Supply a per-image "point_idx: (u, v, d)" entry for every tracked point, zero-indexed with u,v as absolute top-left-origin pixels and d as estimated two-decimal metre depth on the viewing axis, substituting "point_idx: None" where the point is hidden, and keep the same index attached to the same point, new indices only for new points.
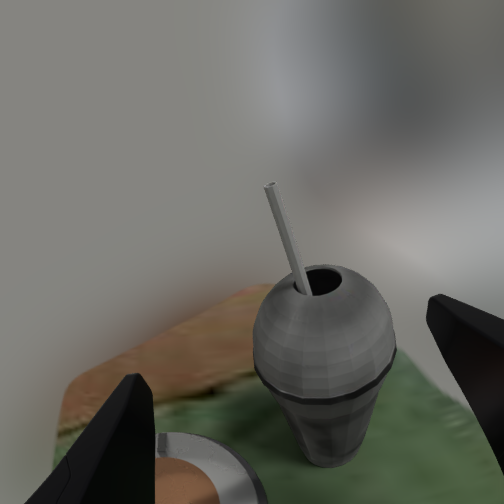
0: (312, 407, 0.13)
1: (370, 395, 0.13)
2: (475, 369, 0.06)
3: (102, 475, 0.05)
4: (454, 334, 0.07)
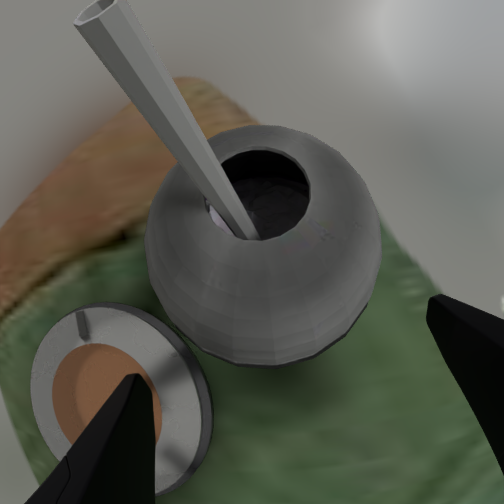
0: None
1: None
2: (475, 369, 0.06)
3: (102, 475, 0.05)
4: (454, 334, 0.07)
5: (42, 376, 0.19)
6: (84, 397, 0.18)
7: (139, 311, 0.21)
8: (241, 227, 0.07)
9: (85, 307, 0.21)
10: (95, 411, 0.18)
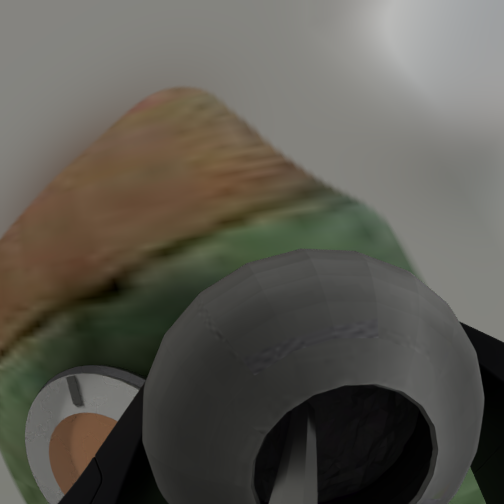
0: None
1: (381, 479, 0.06)
2: None
3: (134, 476, 0.05)
4: None
5: (37, 438, 0.15)
6: (84, 466, 0.14)
7: (138, 379, 0.17)
8: None
9: (77, 369, 0.17)
10: None
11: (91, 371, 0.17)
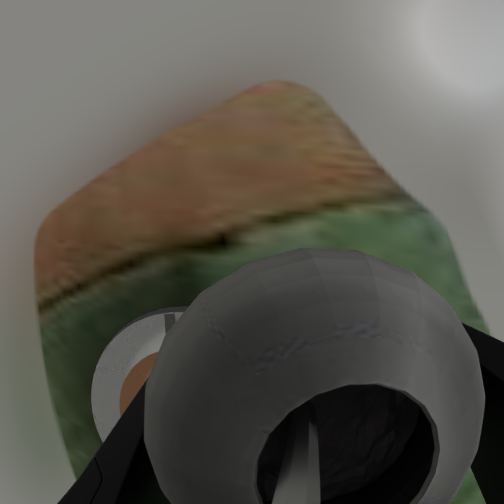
0: None
1: (381, 478, 0.07)
2: None
3: (135, 476, 0.05)
4: None
5: (110, 373, 0.20)
6: None
7: None
8: None
9: (173, 308, 0.22)
10: None
11: None
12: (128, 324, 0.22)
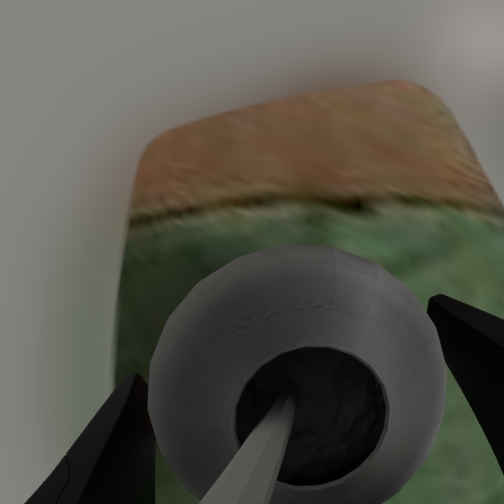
0: None
1: (366, 459, 0.07)
2: (475, 369, 0.06)
3: (102, 475, 0.05)
4: (454, 334, 0.07)
5: None
6: None
7: None
8: None
9: None
10: None
11: None
12: None
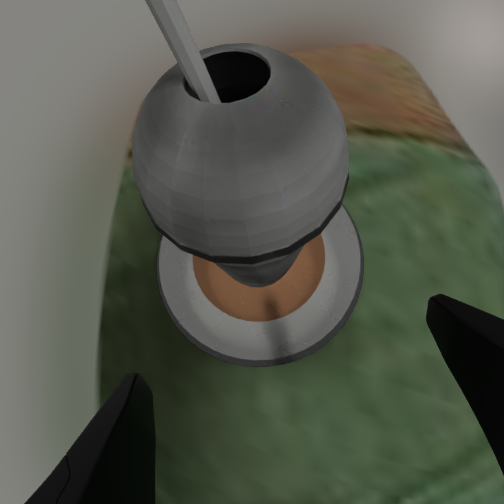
0: None
1: None
2: (475, 369, 0.06)
3: (102, 475, 0.05)
4: (454, 334, 0.07)
5: None
6: None
7: None
8: None
9: None
10: None
11: None
12: None
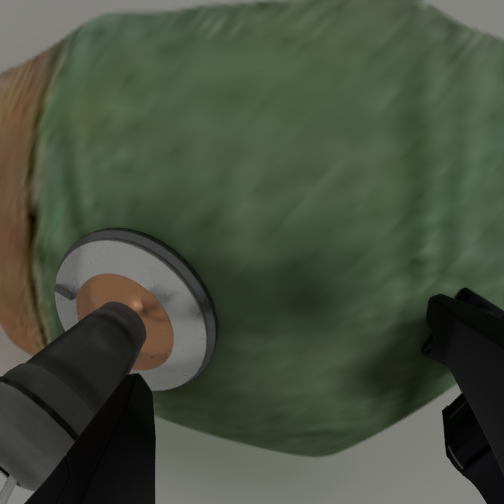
0: None
1: (78, 414, 0.13)
2: (475, 369, 0.06)
3: (102, 475, 0.05)
4: (454, 334, 0.07)
5: None
6: None
7: (76, 244, 0.22)
8: None
9: None
10: None
11: None
12: None
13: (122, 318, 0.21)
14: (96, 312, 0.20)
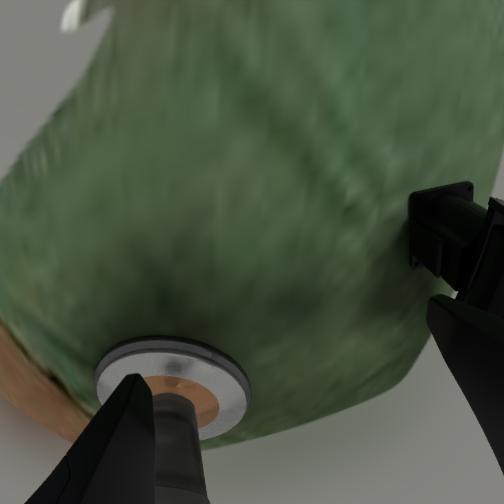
0: None
1: (180, 500, 0.15)
2: (475, 369, 0.06)
3: (102, 475, 0.05)
4: (454, 334, 0.07)
5: None
6: None
7: (95, 377, 0.25)
8: None
9: None
10: None
11: None
12: None
13: (164, 406, 0.23)
14: None
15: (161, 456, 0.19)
